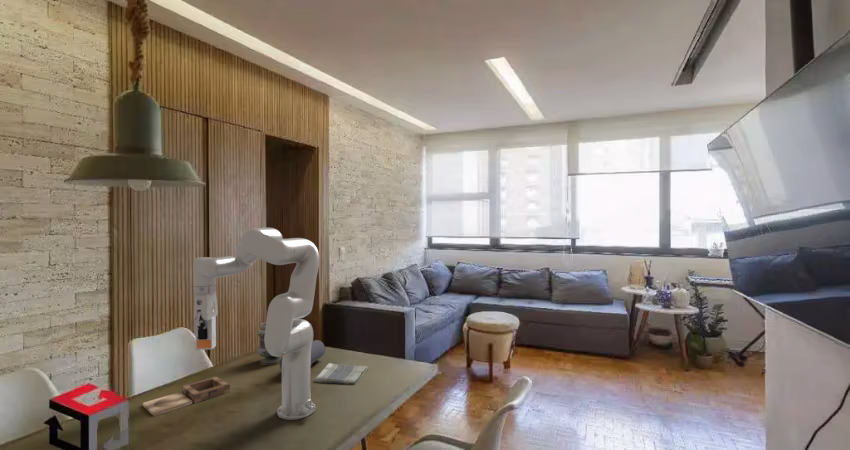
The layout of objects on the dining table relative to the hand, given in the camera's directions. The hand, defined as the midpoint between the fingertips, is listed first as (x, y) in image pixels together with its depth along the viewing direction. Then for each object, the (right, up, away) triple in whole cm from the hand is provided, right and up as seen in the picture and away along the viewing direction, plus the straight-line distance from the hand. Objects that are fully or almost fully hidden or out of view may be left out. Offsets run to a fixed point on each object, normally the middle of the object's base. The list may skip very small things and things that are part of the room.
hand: (205, 336), depth 155 cm
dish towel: (+49, -22, +18) cm, 56 cm away
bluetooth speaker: (+29, -22, +26) cm, 45 cm away
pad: (-9, -22, -10) cm, 25 cm away
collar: (0, -22, 0) cm, 22 cm away
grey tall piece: (+12, -21, +35) cm, 42 cm away
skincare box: (0, -5, 0) cm, 5 cm away
